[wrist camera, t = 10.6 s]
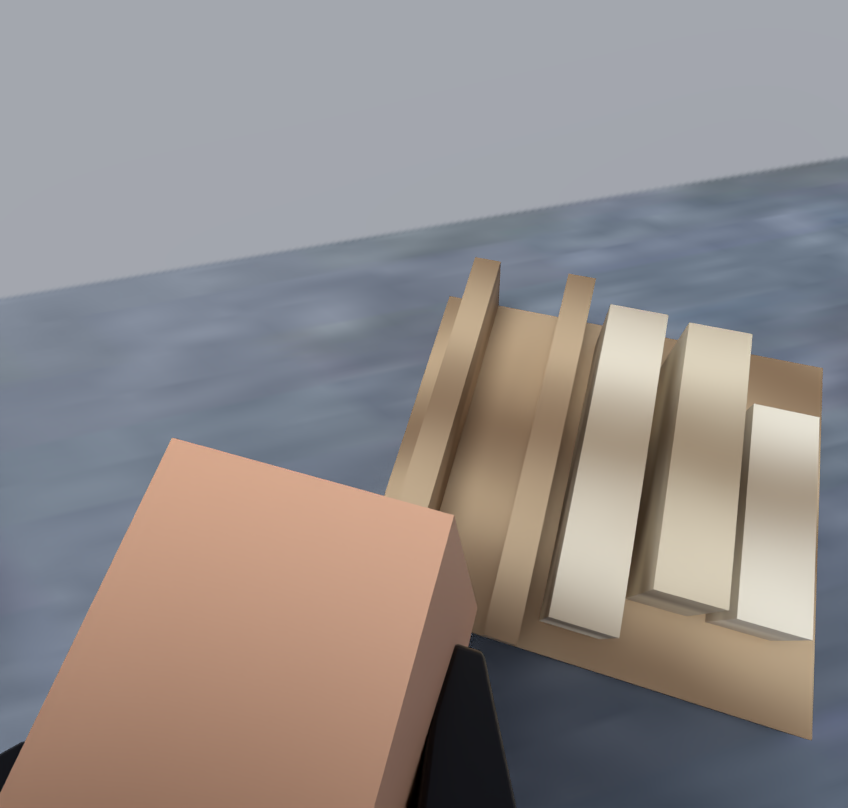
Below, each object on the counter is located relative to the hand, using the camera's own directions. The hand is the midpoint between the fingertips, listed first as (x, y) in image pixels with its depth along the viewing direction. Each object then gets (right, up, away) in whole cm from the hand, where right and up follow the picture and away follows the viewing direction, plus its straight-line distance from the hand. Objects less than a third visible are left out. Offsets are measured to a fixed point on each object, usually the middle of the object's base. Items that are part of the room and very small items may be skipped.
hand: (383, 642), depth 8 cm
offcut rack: (+7, 0, +14) cm, 16 cm away
